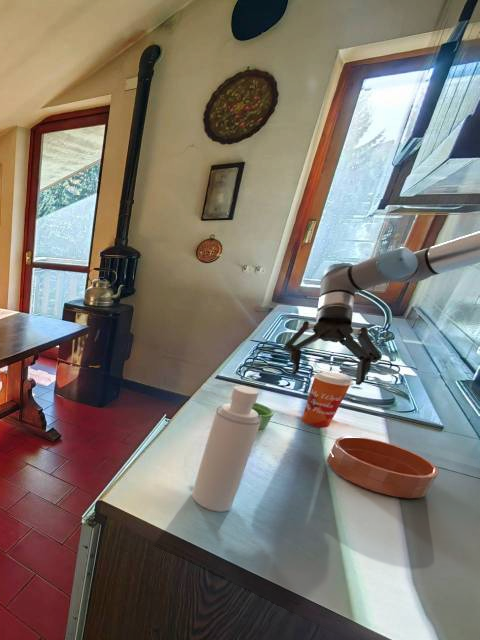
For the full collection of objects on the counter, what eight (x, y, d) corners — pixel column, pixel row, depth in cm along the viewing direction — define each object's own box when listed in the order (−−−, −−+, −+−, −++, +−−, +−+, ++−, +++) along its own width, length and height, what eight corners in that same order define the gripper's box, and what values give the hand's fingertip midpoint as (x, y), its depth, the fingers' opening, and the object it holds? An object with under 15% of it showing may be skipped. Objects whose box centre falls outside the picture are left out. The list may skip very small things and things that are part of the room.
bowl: (425, 479, 82) (438, 457, 80) (423, 511, 73) (438, 487, 71) (332, 449, 93) (341, 429, 91) (320, 474, 83) (329, 452, 81)
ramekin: (261, 434, 99) (266, 419, 97) (223, 420, 106) (227, 406, 104) (274, 424, 104) (279, 409, 102) (237, 412, 111) (241, 398, 109)
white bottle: (235, 500, 75) (277, 381, 65) (225, 517, 71) (268, 392, 61) (197, 484, 79) (231, 370, 70) (186, 499, 75) (220, 380, 65)
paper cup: (293, 421, 106) (312, 373, 100) (300, 413, 110) (318, 367, 105) (330, 433, 100) (352, 383, 95) (336, 424, 105) (357, 376, 99)
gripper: (386, 325, 108) (381, 393, 102) (276, 314, 120) (266, 374, 114) (402, 310, 102) (398, 381, 96) (284, 299, 114) (274, 362, 108)
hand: (326, 377), depth 105 cm, fingers open, 13 cm apart
